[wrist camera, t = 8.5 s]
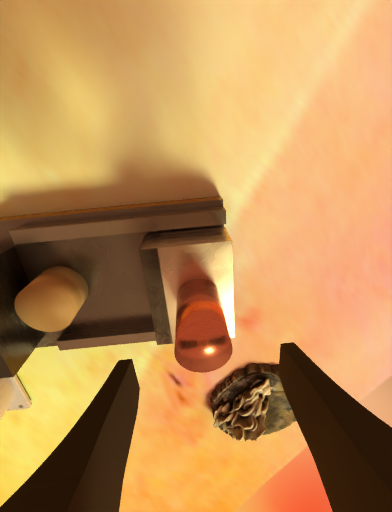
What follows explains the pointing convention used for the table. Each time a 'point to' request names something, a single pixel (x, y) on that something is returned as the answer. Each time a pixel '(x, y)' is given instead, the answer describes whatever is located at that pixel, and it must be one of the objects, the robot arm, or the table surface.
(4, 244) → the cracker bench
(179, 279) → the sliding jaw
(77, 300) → the tan rounded lump
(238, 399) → the log
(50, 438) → the table surface
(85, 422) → the robot arm
